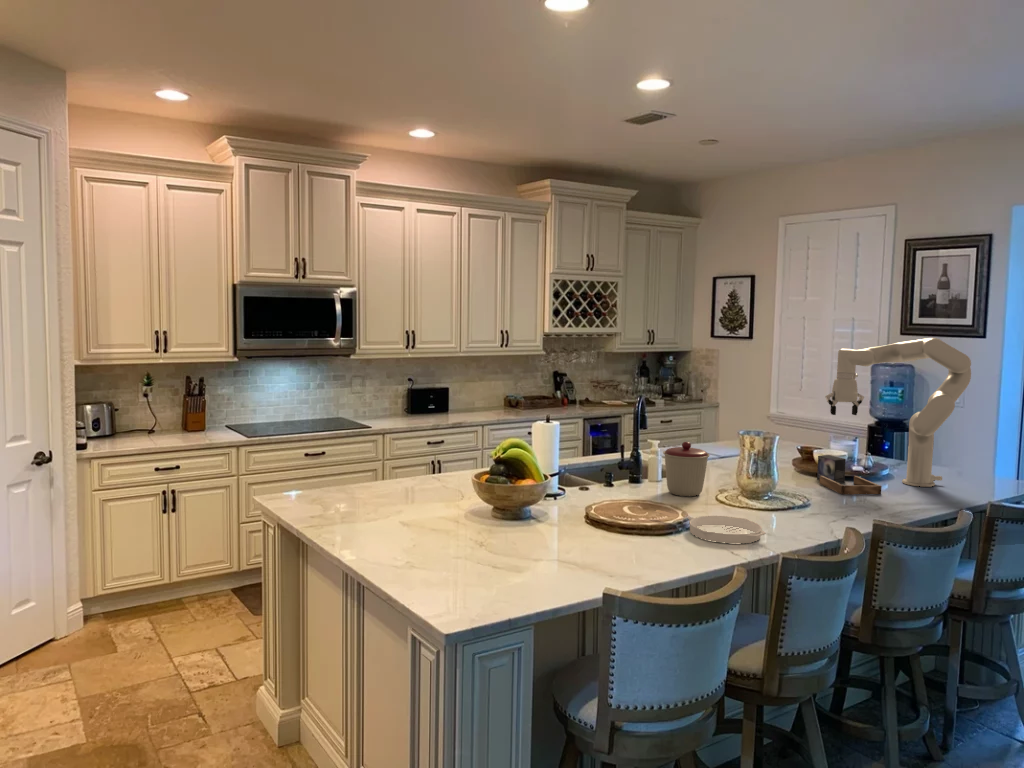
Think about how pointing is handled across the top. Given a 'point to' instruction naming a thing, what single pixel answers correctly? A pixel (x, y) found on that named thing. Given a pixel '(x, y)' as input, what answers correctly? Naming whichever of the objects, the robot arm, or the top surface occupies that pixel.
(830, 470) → the small box
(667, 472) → the canister
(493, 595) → the top surface
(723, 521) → the pan
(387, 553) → the top surface
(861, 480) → the wooden u-shaped frame
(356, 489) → the top surface
